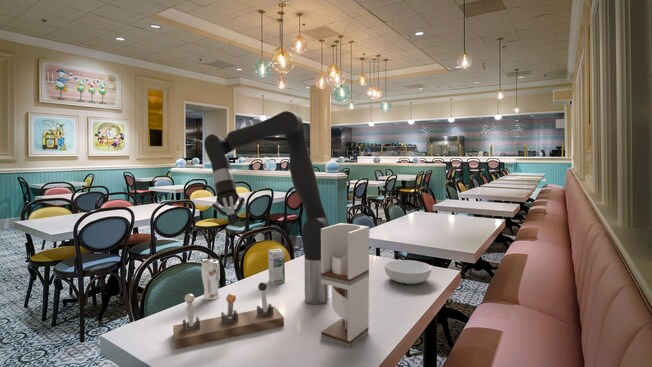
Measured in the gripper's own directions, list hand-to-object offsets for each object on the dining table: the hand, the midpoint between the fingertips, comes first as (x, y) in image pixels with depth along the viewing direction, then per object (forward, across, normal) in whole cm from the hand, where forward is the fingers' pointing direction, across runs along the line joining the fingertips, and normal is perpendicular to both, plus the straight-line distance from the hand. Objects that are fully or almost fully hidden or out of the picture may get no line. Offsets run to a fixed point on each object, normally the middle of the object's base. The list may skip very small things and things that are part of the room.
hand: (233, 224), depth 144 cm
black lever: (+34, +5, -5) cm, 35 cm away
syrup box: (+22, +12, +34) cm, 42 cm away
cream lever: (+32, -18, -12) cm, 39 cm away
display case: (+48, +28, -16) cm, 57 cm away
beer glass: (+23, -15, +21) cm, 34 cm away
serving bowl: (+38, +69, +26) cm, 83 cm away
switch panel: (+36, -8, -7) cm, 38 cm away
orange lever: (+33, -7, -8) cm, 35 cm away
